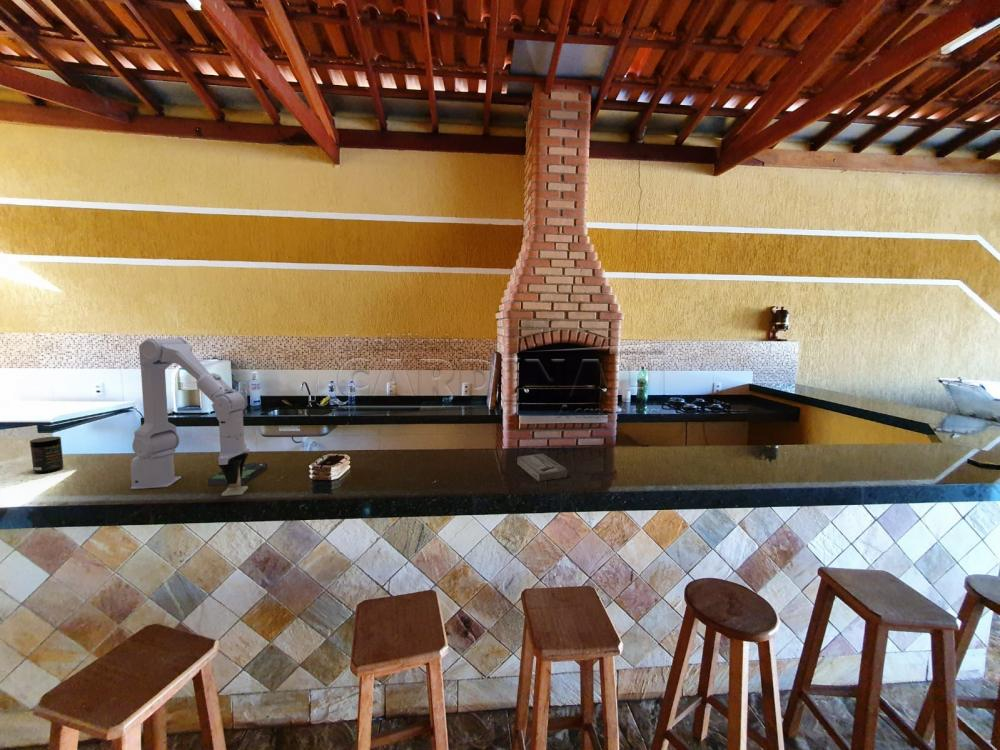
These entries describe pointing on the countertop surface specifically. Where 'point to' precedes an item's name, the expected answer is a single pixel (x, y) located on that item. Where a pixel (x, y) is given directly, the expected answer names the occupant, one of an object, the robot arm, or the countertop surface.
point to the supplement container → (46, 455)
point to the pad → (235, 491)
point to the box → (541, 467)
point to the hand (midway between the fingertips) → (234, 481)
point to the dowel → (237, 481)
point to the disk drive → (248, 474)
